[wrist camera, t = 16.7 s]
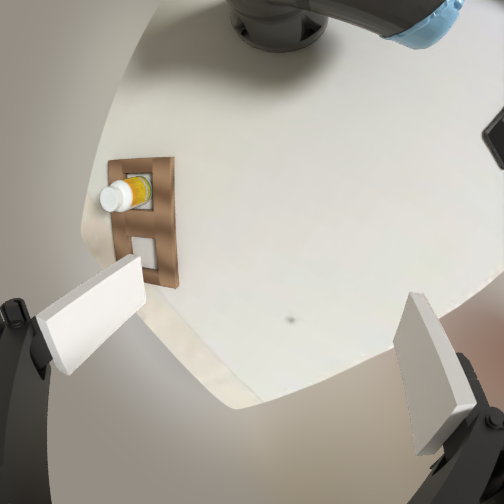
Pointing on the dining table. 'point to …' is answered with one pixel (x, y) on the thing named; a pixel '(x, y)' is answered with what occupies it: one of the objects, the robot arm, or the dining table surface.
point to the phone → (496, 138)
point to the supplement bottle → (126, 194)
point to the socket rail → (149, 218)
